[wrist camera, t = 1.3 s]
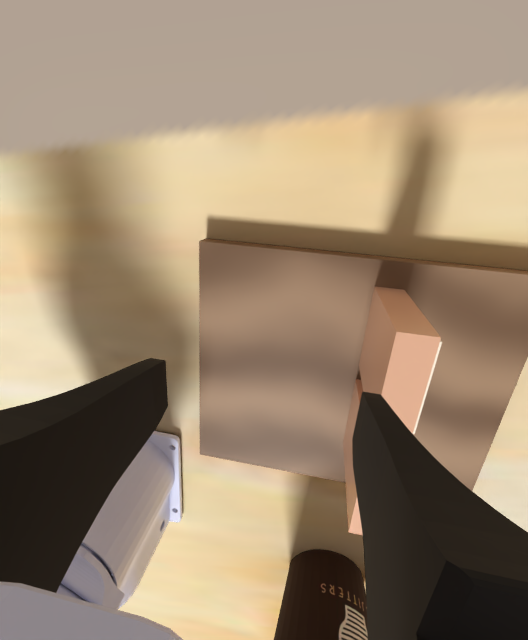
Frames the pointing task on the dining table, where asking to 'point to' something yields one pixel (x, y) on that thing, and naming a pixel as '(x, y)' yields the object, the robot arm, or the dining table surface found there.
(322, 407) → the board
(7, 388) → the dining table surface
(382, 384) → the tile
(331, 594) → the coffee mug
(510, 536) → the robot arm
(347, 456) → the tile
